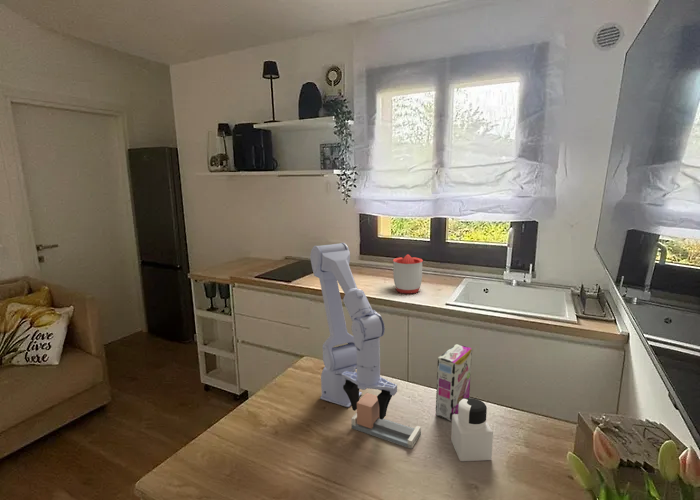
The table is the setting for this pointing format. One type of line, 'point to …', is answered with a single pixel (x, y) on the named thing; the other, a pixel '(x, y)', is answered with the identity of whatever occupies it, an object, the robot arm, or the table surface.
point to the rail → (390, 431)
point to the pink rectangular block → (367, 410)
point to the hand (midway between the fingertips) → (369, 412)
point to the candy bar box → (453, 380)
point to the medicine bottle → (472, 431)
